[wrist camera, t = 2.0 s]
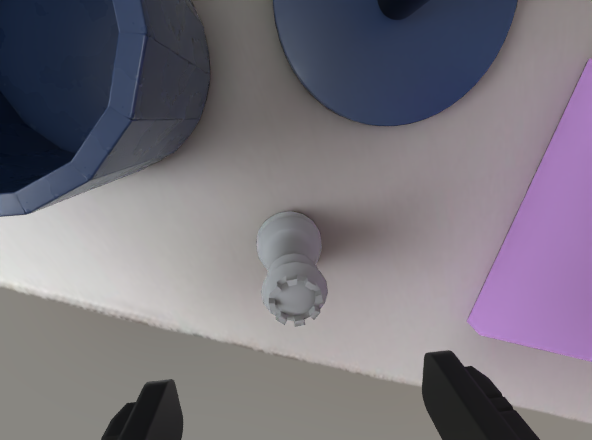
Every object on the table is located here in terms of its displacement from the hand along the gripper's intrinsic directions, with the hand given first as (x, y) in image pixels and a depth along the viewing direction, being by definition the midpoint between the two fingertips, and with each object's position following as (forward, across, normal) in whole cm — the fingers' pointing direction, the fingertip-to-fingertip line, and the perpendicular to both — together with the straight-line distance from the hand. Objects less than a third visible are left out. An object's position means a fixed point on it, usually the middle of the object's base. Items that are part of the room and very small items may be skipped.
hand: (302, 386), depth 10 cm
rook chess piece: (+13, 0, 0) cm, 13 cm away
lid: (+12, -7, -14) cm, 20 cm away
